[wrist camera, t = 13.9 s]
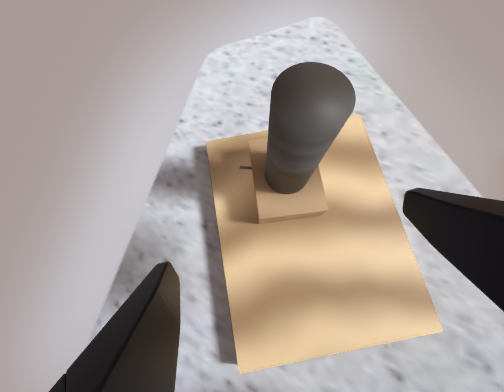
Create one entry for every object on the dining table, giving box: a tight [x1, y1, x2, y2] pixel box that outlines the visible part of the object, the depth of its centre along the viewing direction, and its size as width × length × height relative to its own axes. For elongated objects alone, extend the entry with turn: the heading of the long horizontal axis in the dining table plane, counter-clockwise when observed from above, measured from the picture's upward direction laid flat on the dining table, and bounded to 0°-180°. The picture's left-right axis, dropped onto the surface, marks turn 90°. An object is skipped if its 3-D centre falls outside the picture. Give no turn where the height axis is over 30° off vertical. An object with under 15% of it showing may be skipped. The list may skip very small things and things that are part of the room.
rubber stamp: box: [249, 62, 356, 224], centre depth 15 cm, size 7×6×12 cm
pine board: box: [206, 114, 443, 374], centre depth 20 cm, size 20×16×2 cm
